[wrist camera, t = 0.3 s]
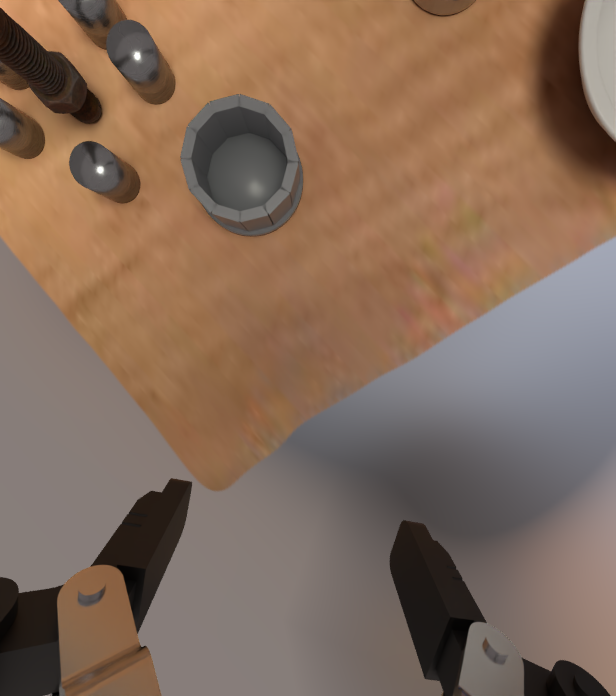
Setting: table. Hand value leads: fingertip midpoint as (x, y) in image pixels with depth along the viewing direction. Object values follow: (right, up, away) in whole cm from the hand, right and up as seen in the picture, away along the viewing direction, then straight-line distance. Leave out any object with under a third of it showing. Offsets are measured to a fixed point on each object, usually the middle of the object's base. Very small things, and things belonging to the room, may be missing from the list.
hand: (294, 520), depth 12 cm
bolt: (-24, +33, +24) cm, 47 cm away
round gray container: (-6, +25, +25) cm, 36 cm away
